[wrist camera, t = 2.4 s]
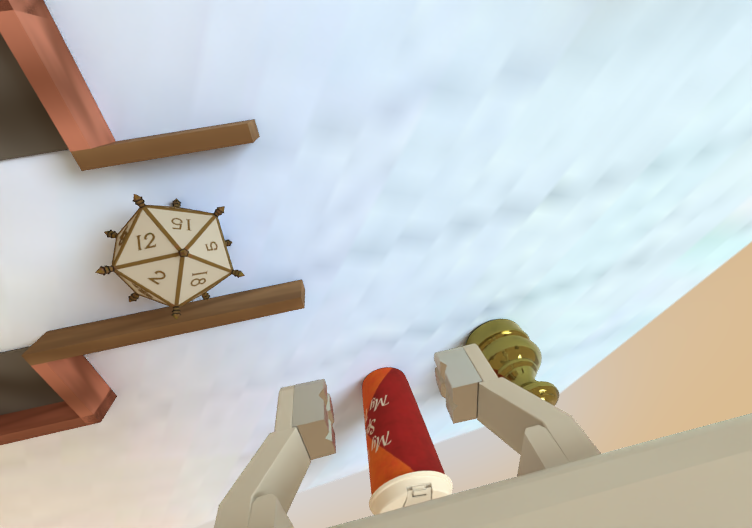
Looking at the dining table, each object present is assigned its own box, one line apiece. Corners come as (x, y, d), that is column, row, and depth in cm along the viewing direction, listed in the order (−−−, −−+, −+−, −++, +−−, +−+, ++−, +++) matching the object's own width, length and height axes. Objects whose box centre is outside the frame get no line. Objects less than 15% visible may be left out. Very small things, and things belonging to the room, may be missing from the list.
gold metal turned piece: (488, 370, 42) (533, 444, 33) (451, 348, 39) (491, 423, 30) (531, 333, 40) (591, 401, 31) (497, 306, 37) (553, 374, 28)
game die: (223, 232, 31) (229, 334, 27) (108, 222, 26) (97, 344, 22) (247, 173, 25) (260, 294, 21) (103, 144, 20) (85, 296, 16)
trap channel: (-633, 76, 16) (-890, 73, 13) (211, -27, 20) (189, -51, 16) (-91, 442, 32) (-139, 485, 29) (323, 350, 35) (324, 378, 32)
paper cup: (354, 363, 37) (374, 495, 25) (418, 358, 39) (466, 481, 27) (352, 408, 41) (368, 542, 29) (410, 402, 42) (449, 528, 30)
